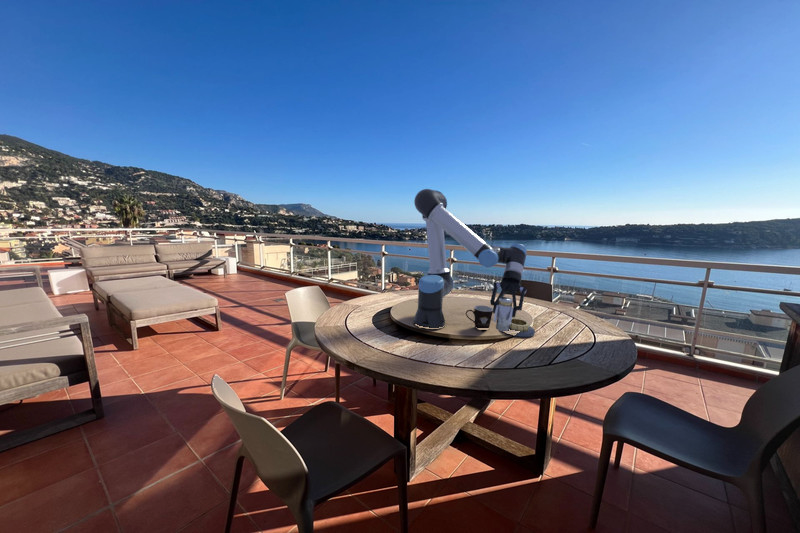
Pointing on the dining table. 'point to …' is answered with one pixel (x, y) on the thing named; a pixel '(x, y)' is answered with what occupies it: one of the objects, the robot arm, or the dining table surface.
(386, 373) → the dining table surface
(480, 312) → the coffee mug
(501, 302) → the salt shaker
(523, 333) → the socket plate
